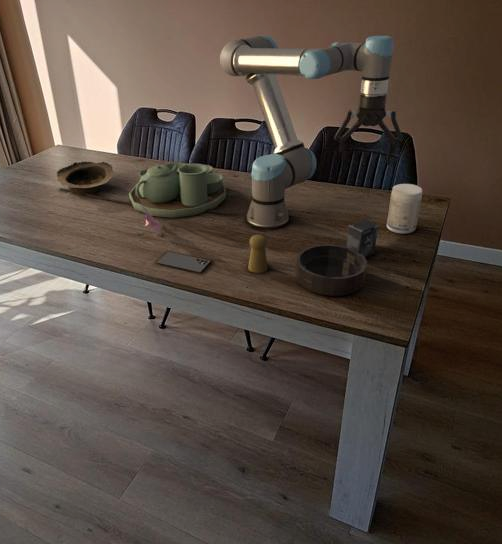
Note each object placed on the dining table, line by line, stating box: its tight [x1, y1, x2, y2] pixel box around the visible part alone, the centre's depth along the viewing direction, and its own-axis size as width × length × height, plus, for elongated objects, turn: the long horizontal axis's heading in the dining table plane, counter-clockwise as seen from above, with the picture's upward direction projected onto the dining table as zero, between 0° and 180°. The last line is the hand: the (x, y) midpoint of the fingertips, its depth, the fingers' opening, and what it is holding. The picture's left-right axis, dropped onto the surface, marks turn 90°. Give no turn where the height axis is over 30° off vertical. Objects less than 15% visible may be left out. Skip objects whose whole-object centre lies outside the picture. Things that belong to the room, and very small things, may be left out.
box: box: [345, 218, 380, 258], centre depth 158 cm, size 8×6×11 cm
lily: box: [140, 206, 163, 236], centre depth 181 cm, size 12×12×10 cm
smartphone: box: [156, 251, 211, 273], centre depth 163 cm, size 8×1×16 cm
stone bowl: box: [56, 161, 115, 196], centre depth 221 cm, size 25×25×9 cm
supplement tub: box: [386, 183, 423, 235], centre depth 170 cm, size 10×10×15 cm
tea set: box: [128, 162, 227, 219], centre depth 204 cm, size 40×40×16 cm
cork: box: [247, 234, 269, 274], centre depth 155 cm, size 6×6×11 cm
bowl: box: [295, 243, 368, 297], centre depth 148 cm, size 20×20×6 cm
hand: (365, 163), depth 159 cm, fingers open, 13 cm apart
